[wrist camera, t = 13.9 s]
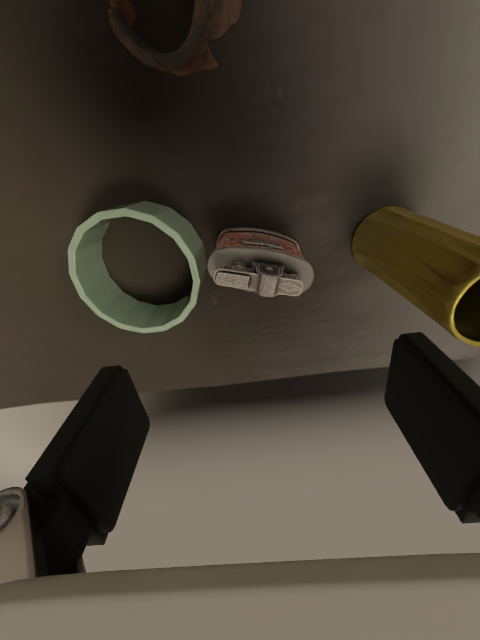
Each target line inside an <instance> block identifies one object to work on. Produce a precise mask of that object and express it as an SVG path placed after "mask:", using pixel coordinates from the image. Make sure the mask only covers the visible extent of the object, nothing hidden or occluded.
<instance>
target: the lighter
mask: <svg viewBox="0 0 480 640" xmlns="http://www.w3.org/2000/svg"><path fill="white" fill-rule="evenodd" d="M208 271H209V274H210V276H211V277H212V278H213V279H214V282H215V283H216V284H217V285H221V286H228V287H234V288H237V289H242V290H247V291H251V292H255V293H257V294H258V295H260V296H263V297H274V296H276V295H278V294H283V295H290V296H298V295H300V294H301V293H302V292H304V291H306V290H307V289H308V288H309V287H310V286H311V284H312V282H313V279H314V271H313V268H312V267H311V265H310V263H309V262H308V261H307V260H305V259H304V258H303V256H302V255H301V253H300V249H299V246H298V244H297V242H296V241H295V240H294V239H292V238H290V237H288V236H285V235H282V234H279V233H276V232H272V231H268V230H264V229H256V228H228V229H224V230H223V231H222V232H221V233H220V235H219V236H218V239H217V247H216V249H215V250H214V251H213V252H212V254H211V256H210V258H209V261H208Z"/></svg>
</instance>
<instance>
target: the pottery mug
mask: <svg viewBox="0 0 480 640" xmlns="http://www.w3.org/2000/svg"><path fill="white" fill-rule="evenodd" d="M110 3H111V5H112V7H110V8H109V10H108V16H109V24H110V26H111V28H112V30H113V31H114V33H115V34H116V35H117V37H118V38H119V40H120V41H121V42H122V44H123V45H124V46H125V47H126V48H127V49H128V50H129V52H130V53H131V54H132V55H133V56H134V57H136V58H137V59H138V60H139V61H140V62H142V63H144V64H145V65H147V66H150V67H154V68H155V69H157V70H161V71H163V72H165V73H167V74H172V73H173V74H175V75H177V76H187V75H190V74H193V73H196V72H201V71H205V70H211V69H213V68H216V67H217V66H218V63H217V61H216V60H214V58H213V56H212V53H211V51H210V48H209V45H208V42H207V41H208V40H211V39H218V38H219V37H221V36H223V35H224V34H225V32H226V31H227V30H228V28H229V27H230V26H231V25H233V24H235V23H236V22H237V21H238V19H239V15H240V11H241V7H242V0H194V9H193V18H192V23H191V27H190V30H189V33H188V37H187V39H186V40H185V42H184V43H183V44H182V45H181V47H179V48H178V49H177V50H176V51H173V52H169V53H162V52H158V51H156V50H154V49H153V48H151V47H150V46H148V45H147V44H146V43H144V42H143V41H142V40H141V39H140V38H139V37H138V35H137V34H136V33H135V31H134V30H133V28H132V26H133V24H134V21H135V17H136V16H135V12H134V9H133V7H132V5H131V3H130V1H129V0H110Z"/></svg>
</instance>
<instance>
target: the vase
mask: <svg viewBox="0 0 480 640" xmlns="http://www.w3.org/2000/svg"><path fill="white" fill-rule="evenodd" d="M352 251H353V255H354V258H355V260H356V261H357V262H358V264H359V265H360V266H362V267H364V268H366V269H367V270H369V271H370V272H371V273H373V274H374V275H375V276H377V277H378V278H380V279H381V280H382V281H384V282H385V283H386V284H387V285H389V286H390V287H391V288H393V289H394V290H395V291H397V292H398V293H399V294H401V295H402V296H403V297H404V298H406V299H407V300H408V301H410V302H411V303H412V304H414V305H415V306H416V307H417V308H419V309H420V310H421V311H423V312H424V313H425V314H426V315H428V316H429V317H430V318H432V319H433V320H434V321H436V322H437V323H438V324H440V325H441V326H442V327H443V328H444V329H446V330H447V331H448V332H449V333H450V334H451V335H452V336H454V337H455V338H457V339H459V340H461V341H463V342H464V343H467V344H469V345H472V346H479V347H480V236H477V235H474V234H471V233H468V232H465V231H462V230H460V229H457V228H454V227H452V226H449V225H447V224H444V223H441V222H438V221H436V220H434V219H431V218H428V217H426V216H423V215H419V214H415V213H411V212H410V211H409V210H408V209H405V208H402V207H397V206H389V207H384V208H381V209H379V210H377V211H375V212H373V213H371V214H370V215H369V216H367V217H366V218H365V219H364V220H363V221H362V222H361V224H360V225H359V226H358V228H357V230H356V232H355V234H354V237H353V242H352Z"/></svg>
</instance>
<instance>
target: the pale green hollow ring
mask: <svg viewBox="0 0 480 640" xmlns="http://www.w3.org/2000/svg"><path fill="white" fill-rule="evenodd" d="M124 216H127V217H131V218H135V219H138V220H142V221H146V222H150V223H152V224H154V225H155V226H156V227H158V228H159V229H161V230H162V231H163V232H165V233H166V234H168V235H169V236H170V237H172V238H173V239H174V240H175V242H176V243H177V244H178V246H179V247H180V249H181V250H182V252H183V253H184V254H185V256H186V257H187V259H188V262H189V266H190V270H191V274H192V278H193V286H192V291H191V292H190V294H189V295H188V296H186V297H184V298H183V299H181V300H179V301H177V302H176V303H173V304H164V305H153V304H149V303H145V302H140V301H138V300H136V299H135V298H133V297H131V296H130V295H128V294H126V293H125V292H123V291H122V290H121V289H120V288H119V286H118V285H117V284H116V283H115V282H114V281H113V279H112V278H111V277H110V276H109V273H108V271H107V268H106V266H105V263H104V261H103V258H102V239H103V237H104V235H105V233H106V231H107V228H108V226H109V224H110V222H111V221H113V220H114V219H115V218H117V217H124ZM68 263H69V275H70V277H71V279H72V281H73V283H74V286H75V288H76V290H77V292H78V294H79V296H80V298H81V299H82V300H83V301H84V302H85V303H86V304H87V305H88V306H89V307H90V308H91V309H92V310H93V311H94V312H95V313H96V315H98V316H99V317H101V318H102V319H104V320H106V321H108V322H109V323H111V324H113V325H115V326H116V327H118V328H121V329H125V330H130V331H134V332H139V333H151V332H160V331H166V330H167V329H169V328H171V327H173V326H175V325H177V324H179V323H181V322H182V321H184V320H185V318H186V317H187V316H188V314H189V313H190V312H191V310H192V309H193V308H194V306H195V305H196V303H197V300H198V297H199V295H200V292H201V289H202V287H203V284H204V280H205V275H206V270H207V259H206V254H205V249H204V245H203V242H202V240H201V239H200V237H199V236H198V234H197V232H196V231H195V229H194V228H193V226H192V225H191V223H190V222H189V221H188V220H186V219H185V218H184V217H182V216H181V215H179V214H178V213H177V212H175V211H174V210H173V209H171V208H170V207H167V206H163V205H160V204H156V203H152V202H149V201H140V202H134V203H127V204H122V205H119V206H116V207H112V208H109V209H106V210H103V211H99V212H97V213H95V214H94V215H93V216H91V217H90V218H89V219H87V220H86V221H85V222H83V223H82V224H81V225H79V226H78V227H77V229H76V231H75V233H74V236H73V238H72V240H71V243H70V245H69V247H68Z"/></svg>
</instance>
